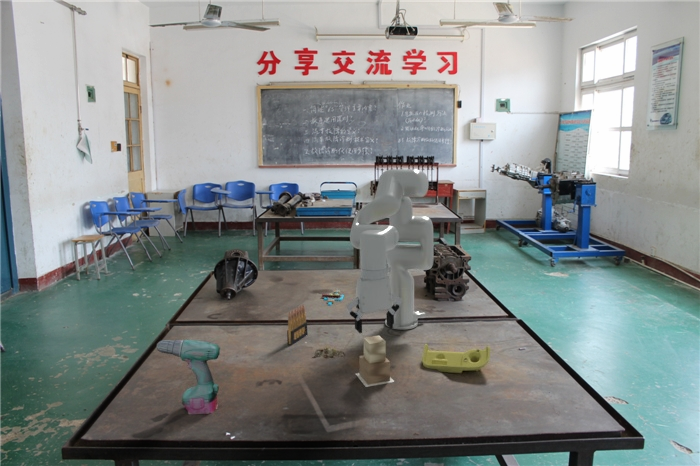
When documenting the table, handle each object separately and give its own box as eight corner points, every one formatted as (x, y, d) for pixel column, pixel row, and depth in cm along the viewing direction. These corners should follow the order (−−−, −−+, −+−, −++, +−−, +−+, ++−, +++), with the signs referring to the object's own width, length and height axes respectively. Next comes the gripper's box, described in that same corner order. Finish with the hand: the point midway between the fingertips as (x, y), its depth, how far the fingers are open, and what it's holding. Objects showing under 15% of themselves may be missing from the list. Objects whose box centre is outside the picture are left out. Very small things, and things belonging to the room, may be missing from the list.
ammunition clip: (291, 345, 184) (290, 312, 182) (287, 344, 185) (285, 312, 183) (307, 334, 194) (306, 303, 191) (303, 334, 195) (302, 303, 192)
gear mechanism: (317, 306, 227) (338, 306, 225) (316, 294, 226) (337, 294, 224) (327, 292, 246) (346, 292, 245) (326, 281, 245) (346, 281, 244)
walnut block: (381, 370, 161) (380, 352, 160) (390, 380, 154) (390, 361, 153) (359, 374, 159) (359, 355, 158) (367, 384, 152) (367, 365, 151)
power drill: (166, 403, 146) (159, 335, 142) (225, 400, 147) (221, 332, 143) (159, 417, 139) (152, 346, 135) (221, 413, 140) (216, 343, 136)
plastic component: (420, 364, 162) (425, 339, 170) (424, 380, 166) (429, 355, 174) (489, 368, 155) (490, 342, 163) (490, 385, 159) (492, 358, 167)
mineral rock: (310, 355, 170) (317, 340, 177) (311, 366, 172) (318, 350, 179) (342, 360, 168) (348, 344, 175) (342, 370, 170) (348, 354, 177)
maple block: (379, 354, 159) (379, 335, 157) (385, 360, 154) (385, 341, 153) (363, 356, 157) (363, 337, 156) (369, 363, 152) (369, 343, 151)
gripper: (396, 266, 157) (396, 320, 160) (340, 273, 151) (342, 328, 155) (406, 273, 150) (406, 329, 153) (349, 280, 144) (351, 338, 148)
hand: (374, 328), depth 154 cm, fingers open, 9 cm apart
